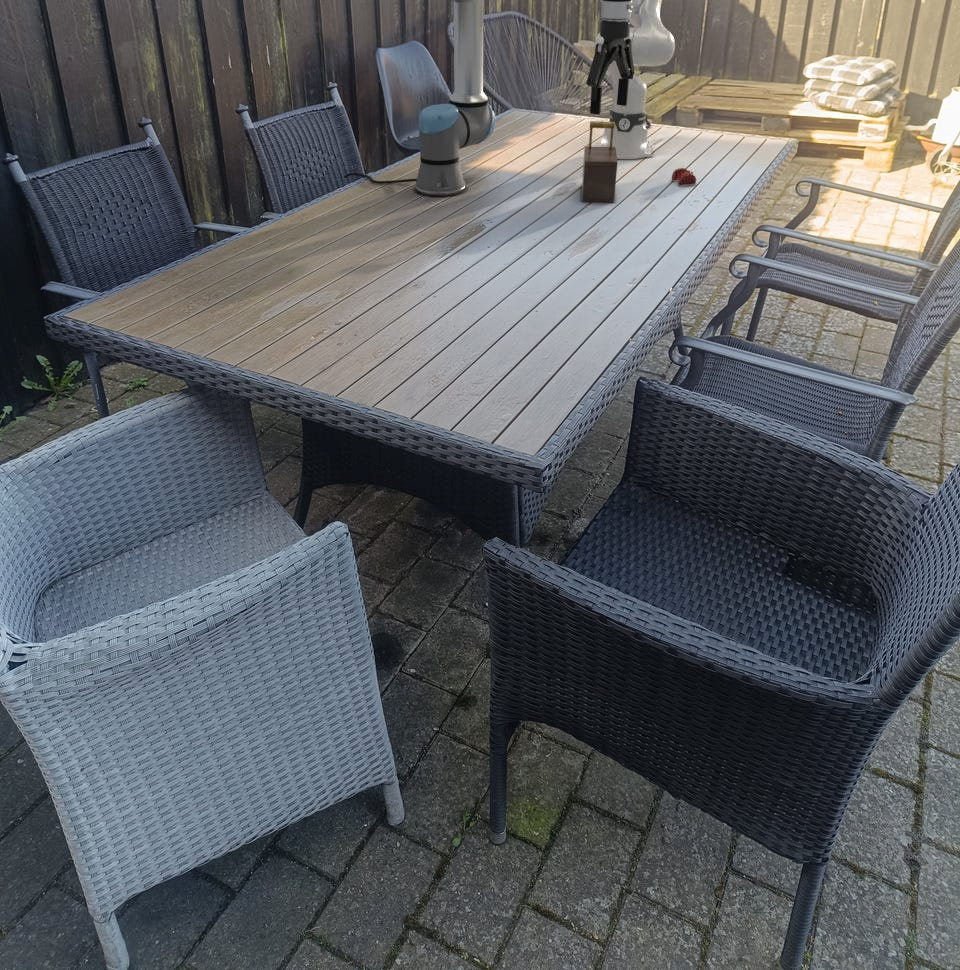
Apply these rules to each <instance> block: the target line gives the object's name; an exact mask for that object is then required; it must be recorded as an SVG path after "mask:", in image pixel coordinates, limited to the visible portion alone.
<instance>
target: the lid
mask: <svg viewBox="0 0 960 970" xmlns="http://www.w3.org/2000/svg"><path fill="white" fill-rule="evenodd" d="M614 125H615V122H610V121H598V120H597V121H596V120H595V121H593V120H591V121H589V138H588V140H589V141H588V145H587V146H586V145H585V146H584V148H583V150H584V153H583V160H584V159H585V166H613V167H617V168H618V162H619V161H618V159H617V154H616V147H612V141H613V130H614ZM605 128H611V136H610V147H602V146H592V143H593V141H592V140H593V131H594V129H605Z"/></svg>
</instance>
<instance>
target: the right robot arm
mask: <svg viewBox="0 0 960 970" xmlns="http://www.w3.org/2000/svg"><path fill="white" fill-rule="evenodd" d="M599 2H600V4H601V5H602V0H599ZM662 2H663V0H632V9H631V17H630V18H629V19H628V20H629V21H630V25H632V26H630V33H629V36H628V37H627V38H631V51H632V57H633V64H634V67H651V68H654V67H659V66H660V67H661V66H665V65H667V64H668V63H669V62H670V61H671V59H672V58H673V56H674V54H675V50H676V41H675V38H674V35H673V34H672V33H671V31H670V30H668V29H667V28H666V27H665V25H663V22H662V20H661V9H662ZM603 42H604V38H603V37H601V36H600V32H599V33H598V34H597V36H596V38H595V41H594V49H595V48H596V44H597V43H598V44H603ZM629 70H630V69H629ZM607 73H608V74H609V76H610V80H611V85H612V86H611V87H612V101H611V109H610V110H609V111H610V113H609V121H608V122H615V125H614V130H613V141H612V147H616V154H617V160H636V159H642V158H650V157H652V148H651V144H650V143H649V140H648V135H649V134H648V132H649V130H648V129H649V128H650V127H651V125H652V124H651V122H650V121H648V115H647V112H646V105H647V104H646V103H647V94H648V87H647V85H646V82H644V80H643V79H642V78H640V77H639V76H637V75H636V74H634V75H633V79H629V85H628V96H627V106H622V105H617V95H618V83H619V79H620V78H621V76H620V73H619V70H618V67H617V64H616V61H613V62H612V63H611V64H610V65H609V67H608V69H607ZM621 79H622V78H621ZM645 123H646V124H647V125H646V124H645ZM610 136H611V128H603V139H602V140H601V144H602V146H601V147H610Z"/></svg>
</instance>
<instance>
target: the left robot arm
mask: <svg viewBox="0 0 960 970" xmlns="http://www.w3.org/2000/svg"><path fill="white" fill-rule="evenodd" d="M452 1H453V2H452V4H453V7H452V8H453V10H452V11H453V70H454V71H453V79H454V81H453V83H454V84H453V85H454V86H453V87H454V89H453V91H454V92H453V93H452V94H451V95H450V96H449V103H439V104H431V105H428V106H426V107H424V108H423V109H422V110H421V111H420V112H419V114H418V115H419V116H418V126H417V127H418V137H419V138H418V139H419V157H420V158H419V159H420V161H419V162H420V164H419V168H418V172H417V176H416V178H405V179H395V180H375V179H373V178H372V176H371V175H369V174H363V173H360V172H349V173H347V174H345V175H344V176H343V179H348V177H350V176H359V177H362V178H365V179H369V180H370V183H372V184H378V185H385V184H386V185H387V184H400V183H410V182H415V192H417V193H418V194H420V195H424V196H430V197H450V196H455V195H459V194H461V193H463V192H464V191H466V181H465V179H464V176H463V172H462V169H461V165H460V149H463V148H467V147H470V146H476V145H479V144H481V143H482V142H485V141H486V140H488V139H489V138H490V137H491V136H492V134H493V132H494V130H495V126H496V115H495V112H494V111H495V110H493V107H492V106H491V104H490V103H489V97H488V96H487V94H485V92H484V2H485V0H452ZM600 9H601V12H600V18H601V19H602V20H601V21H600V25H599V27H600V28H599V33H600V36H601V37H603V38H604V42H603V44H598V43H597V44H596V48H595V47H594V55H593V58H592V63H591V65H590V69H589V72H588V76H587V78H586V85H587V87H590V89H591V90H590V103H589V104H590V106H589V114H590V115H597V116H600V115H601V108H602V95H603V87H602V86H601V85H602V83H603V81H604V78H605V77H606V74H607V73H608V70H607V69H608V67H609V65H610V64H611V63H612V62H613V61H616V64H617V67H618V70H619V73H620V76H621V78H622V79H621V78H620V79H619V83H618V95H617V105H622V106H627V96H628V85H629V79H633V75H635V66H634V64H633V57H632V51H631V38H627V37H628V36H629V33H630V27H631V23H630V21H629V20H628V19H629V18H630V17H631V9H632V0H602V4H601V8H600ZM629 69H630V70H629Z"/></svg>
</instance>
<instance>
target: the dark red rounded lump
mask: <svg viewBox="0 0 960 970" xmlns="http://www.w3.org/2000/svg"><path fill="white" fill-rule="evenodd" d="M671 181H677V184H678V186H689V185H696V183H697V177H696V175H695V173H694V171H692V170H689V169H687V168H685V167H678V168H675V170H674V171H673V172H672V174H671Z"/></svg>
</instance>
